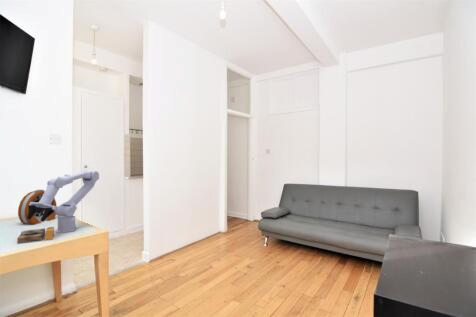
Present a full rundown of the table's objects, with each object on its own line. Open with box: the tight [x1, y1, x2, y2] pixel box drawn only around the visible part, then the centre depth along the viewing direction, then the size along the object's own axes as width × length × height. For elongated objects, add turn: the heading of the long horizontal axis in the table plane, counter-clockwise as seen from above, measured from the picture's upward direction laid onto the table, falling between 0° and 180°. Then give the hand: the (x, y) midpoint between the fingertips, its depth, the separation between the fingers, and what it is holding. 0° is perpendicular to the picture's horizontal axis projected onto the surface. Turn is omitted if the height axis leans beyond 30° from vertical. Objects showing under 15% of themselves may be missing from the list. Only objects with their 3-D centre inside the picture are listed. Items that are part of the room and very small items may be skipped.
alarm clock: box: [17, 189, 58, 225], centre depth 173 cm, size 22×10×23 cm, turn 171°
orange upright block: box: [45, 226, 55, 241], centre depth 139 cm, size 3×7×6 cm, turn 32°
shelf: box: [16, 228, 46, 245], centre depth 139 cm, size 10×15×5 cm, turn 32°
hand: (35, 220), depth 136 cm, fingers open, 7 cm apart
